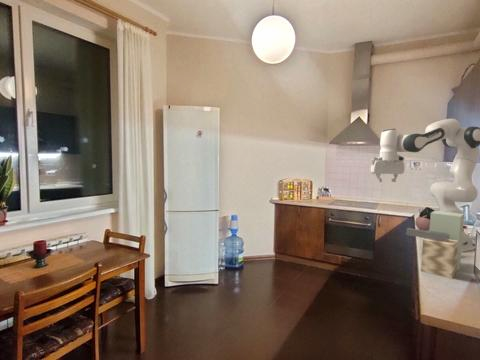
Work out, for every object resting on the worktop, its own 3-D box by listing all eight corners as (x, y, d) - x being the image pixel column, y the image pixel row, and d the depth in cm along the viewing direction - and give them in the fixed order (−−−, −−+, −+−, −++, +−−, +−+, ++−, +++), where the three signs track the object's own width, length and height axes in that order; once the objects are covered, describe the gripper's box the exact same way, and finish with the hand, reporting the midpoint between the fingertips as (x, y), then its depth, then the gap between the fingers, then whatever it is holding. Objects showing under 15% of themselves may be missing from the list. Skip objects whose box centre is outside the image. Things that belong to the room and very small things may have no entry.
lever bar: (449, 240, 139) (449, 234, 139) (446, 242, 136) (447, 235, 135) (408, 233, 151) (408, 227, 151) (405, 235, 147) (405, 229, 147)
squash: (445, 218, 242) (431, 203, 247) (443, 221, 231) (429, 206, 236) (428, 227, 250) (415, 212, 255) (426, 231, 238) (412, 216, 243)
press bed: (420, 270, 141) (423, 239, 140) (426, 265, 148) (428, 235, 147) (451, 278, 133) (454, 245, 132) (455, 272, 140) (458, 240, 139)
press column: (427, 264, 150) (430, 212, 148) (431, 259, 157) (435, 210, 155) (456, 271, 142) (460, 216, 140) (460, 265, 149) (464, 213, 147)
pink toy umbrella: (437, 231, 220) (438, 216, 219) (429, 233, 213) (430, 217, 212) (419, 228, 230) (420, 213, 229) (411, 230, 223) (412, 214, 222)
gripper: (376, 157, 165) (374, 182, 167) (407, 157, 170) (405, 182, 172) (368, 157, 172) (367, 181, 173) (398, 157, 177) (397, 181, 178)
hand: (386, 181), depth 172 cm, fingers open, 8 cm apart
